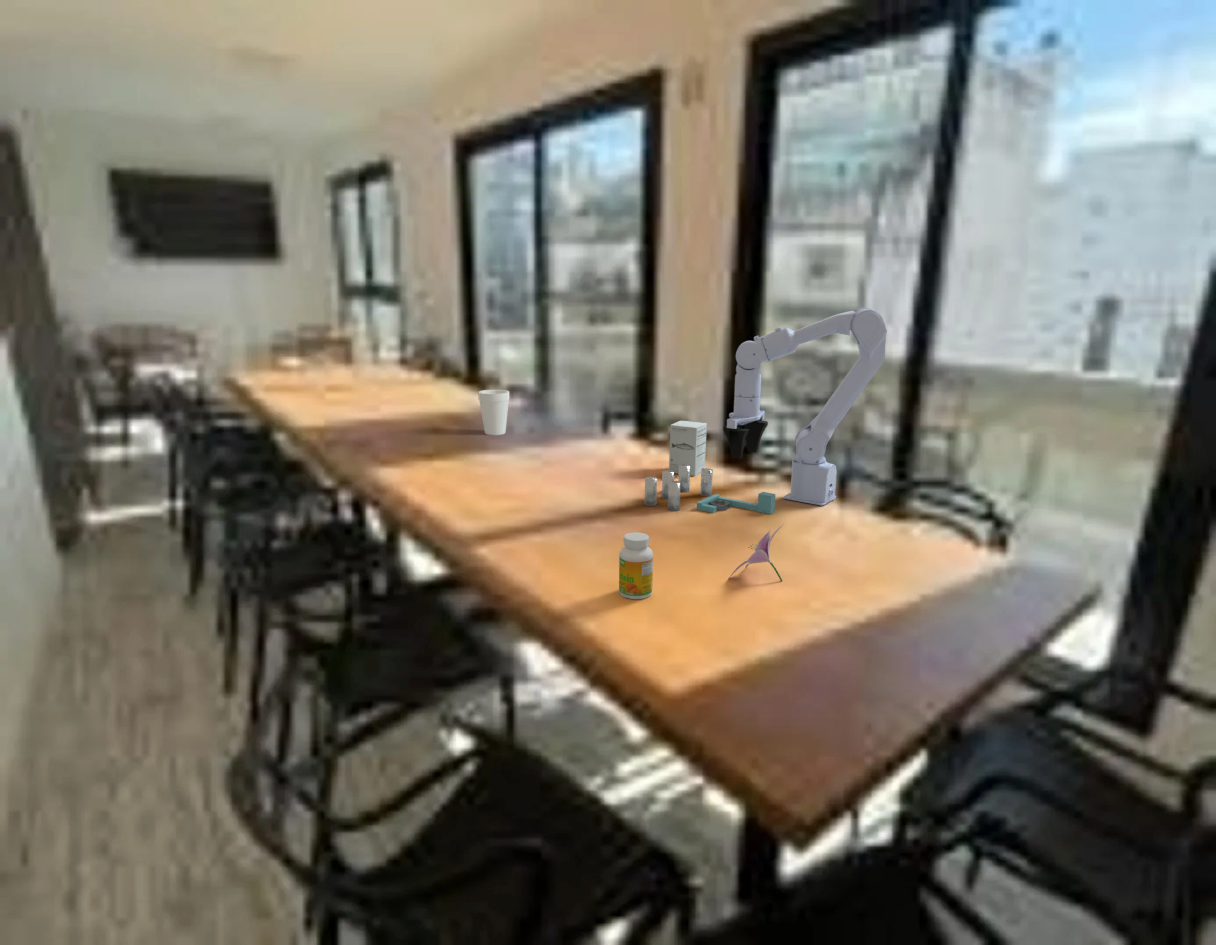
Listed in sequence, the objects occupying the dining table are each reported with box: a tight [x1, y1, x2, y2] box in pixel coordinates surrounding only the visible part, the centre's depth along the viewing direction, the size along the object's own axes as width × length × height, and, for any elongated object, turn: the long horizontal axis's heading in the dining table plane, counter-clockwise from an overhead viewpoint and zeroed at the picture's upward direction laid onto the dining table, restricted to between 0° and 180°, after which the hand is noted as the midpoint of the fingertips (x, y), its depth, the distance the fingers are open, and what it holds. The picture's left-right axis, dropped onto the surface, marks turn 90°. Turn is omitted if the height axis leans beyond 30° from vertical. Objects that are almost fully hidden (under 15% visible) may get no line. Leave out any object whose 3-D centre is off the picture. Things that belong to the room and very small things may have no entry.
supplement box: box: [668, 420, 708, 477], centre depth 203 cm, size 7×7×13 cm
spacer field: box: [644, 464, 714, 512], centre depth 180 cm, size 9×17×6 cm, turn 143°
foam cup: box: [478, 388, 511, 436], centre depth 249 cm, size 10×9×13 cm
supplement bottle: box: [618, 532, 654, 600], centre depth 128 cm, size 5×5×10 cm
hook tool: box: [696, 491, 776, 515], centre depth 172 cm, size 14×9×4 cm, turn 53°
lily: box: [728, 523, 785, 582], centre depth 135 cm, size 12×12×10 cm
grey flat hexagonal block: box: [709, 500, 731, 512], centre depth 175 cm, size 4×5×1 cm
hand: (744, 454), depth 182 cm, fingers open, 7 cm apart
